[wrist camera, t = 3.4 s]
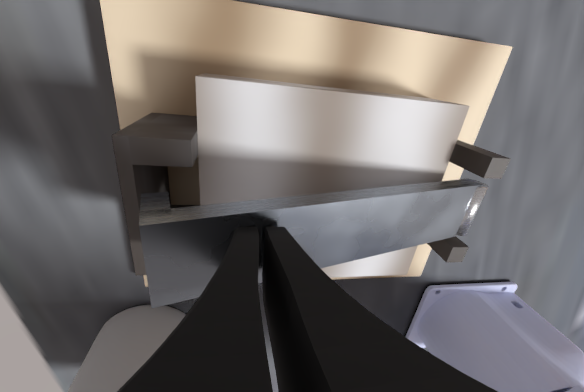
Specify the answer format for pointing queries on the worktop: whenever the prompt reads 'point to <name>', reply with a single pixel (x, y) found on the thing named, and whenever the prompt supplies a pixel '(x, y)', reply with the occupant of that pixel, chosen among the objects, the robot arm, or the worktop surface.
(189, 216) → the retention strap
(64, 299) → the worktop surface
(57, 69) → the worktop surface
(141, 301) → the worktop surface
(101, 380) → the cup
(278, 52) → the board
